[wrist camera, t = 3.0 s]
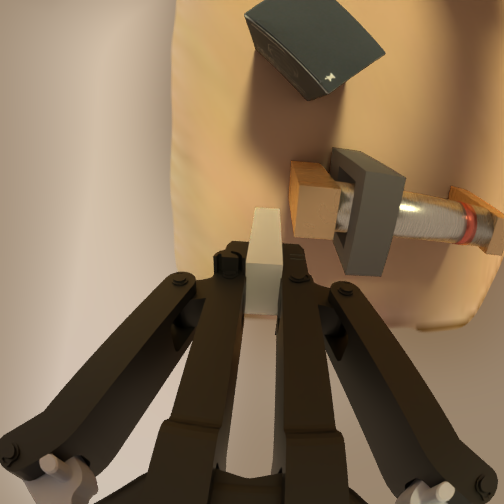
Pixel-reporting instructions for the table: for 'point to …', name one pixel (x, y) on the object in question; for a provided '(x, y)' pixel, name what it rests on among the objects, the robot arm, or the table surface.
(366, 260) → the collar
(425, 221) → the pipe
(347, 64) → the box
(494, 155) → the table surface
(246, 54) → the table surface
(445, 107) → the table surface
